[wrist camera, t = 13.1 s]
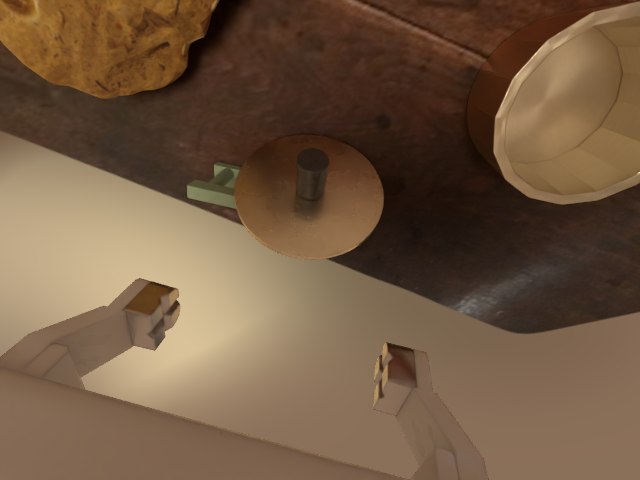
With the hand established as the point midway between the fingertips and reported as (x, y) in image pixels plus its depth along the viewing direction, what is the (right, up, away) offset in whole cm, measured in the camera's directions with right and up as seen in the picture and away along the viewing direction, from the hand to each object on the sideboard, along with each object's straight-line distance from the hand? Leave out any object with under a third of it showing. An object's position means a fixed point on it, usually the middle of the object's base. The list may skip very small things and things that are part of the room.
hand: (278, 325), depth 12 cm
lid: (+1, +7, +15) cm, 17 cm away
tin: (+19, +15, +14) cm, 28 cm away
